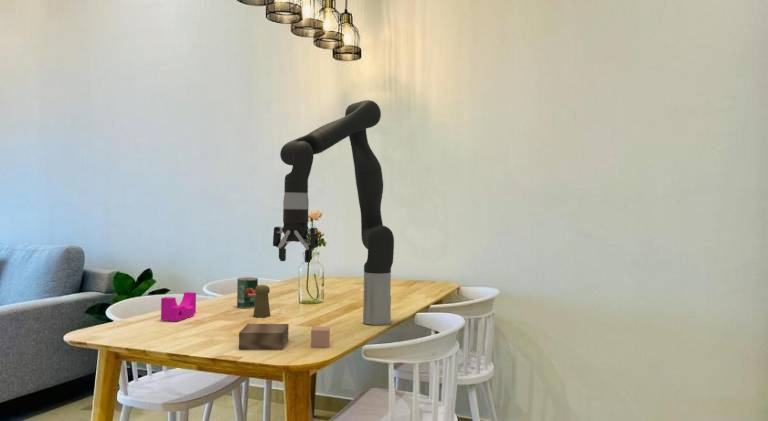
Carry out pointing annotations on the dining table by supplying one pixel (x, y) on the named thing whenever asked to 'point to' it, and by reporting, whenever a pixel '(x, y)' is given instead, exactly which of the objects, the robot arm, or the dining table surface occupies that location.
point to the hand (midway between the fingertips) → (295, 261)
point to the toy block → (178, 307)
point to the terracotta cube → (320, 337)
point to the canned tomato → (246, 292)
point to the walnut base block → (263, 337)
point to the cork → (262, 301)
